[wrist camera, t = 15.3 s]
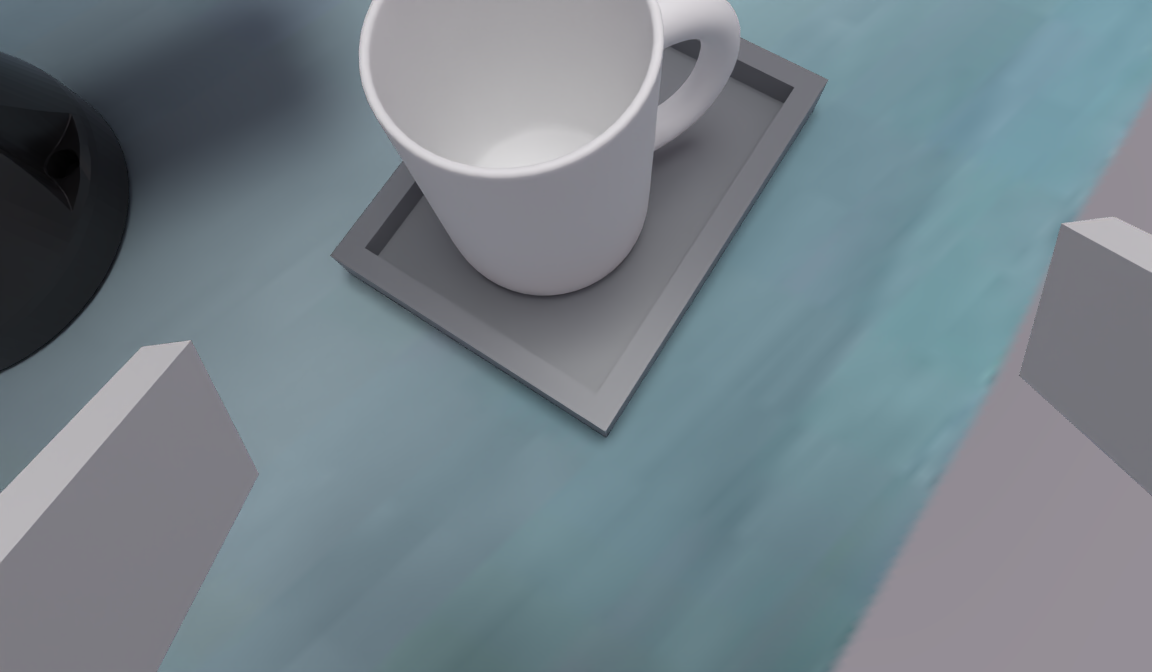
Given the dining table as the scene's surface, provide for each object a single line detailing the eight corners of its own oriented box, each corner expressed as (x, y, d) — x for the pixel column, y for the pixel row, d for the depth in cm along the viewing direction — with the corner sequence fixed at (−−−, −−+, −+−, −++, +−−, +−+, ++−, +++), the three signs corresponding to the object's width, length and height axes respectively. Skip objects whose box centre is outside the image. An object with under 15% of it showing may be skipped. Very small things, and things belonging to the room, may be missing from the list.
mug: (671, 56, 29) (698, -180, 19) (764, 211, 27) (850, 35, 17) (421, 168, 28) (315, -16, 18) (497, 335, 26) (423, 229, 16)
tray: (350, 273, 28) (330, 255, 26) (566, -14, 31) (562, -49, 29) (606, 437, 26) (605, 431, 24) (814, 108, 29) (828, 79, 27)
